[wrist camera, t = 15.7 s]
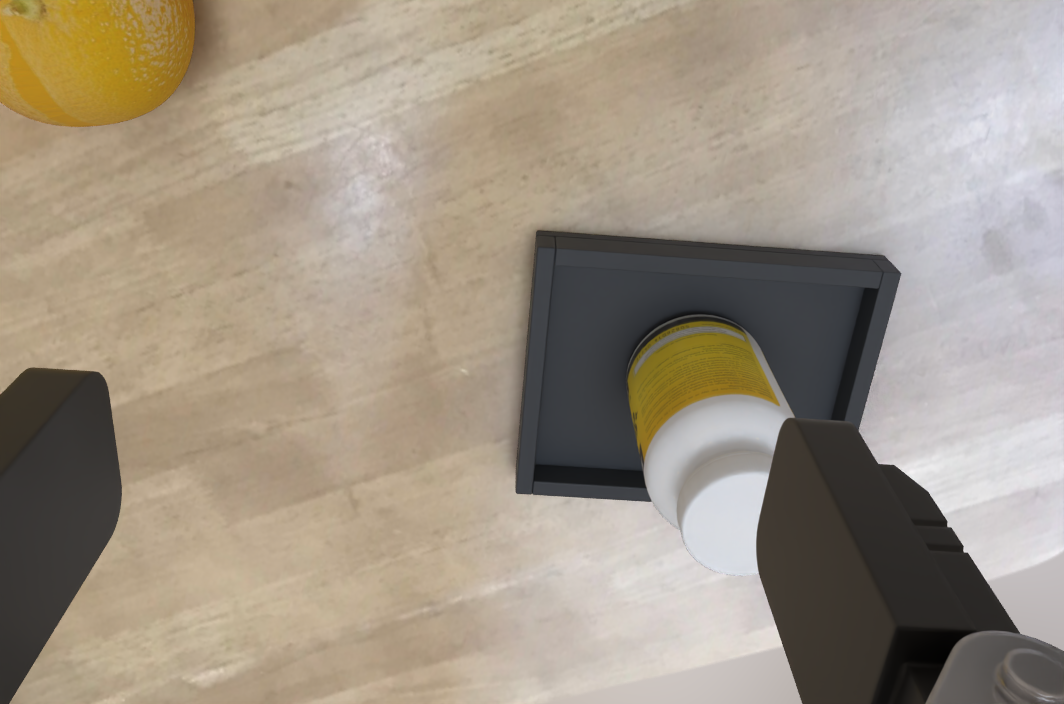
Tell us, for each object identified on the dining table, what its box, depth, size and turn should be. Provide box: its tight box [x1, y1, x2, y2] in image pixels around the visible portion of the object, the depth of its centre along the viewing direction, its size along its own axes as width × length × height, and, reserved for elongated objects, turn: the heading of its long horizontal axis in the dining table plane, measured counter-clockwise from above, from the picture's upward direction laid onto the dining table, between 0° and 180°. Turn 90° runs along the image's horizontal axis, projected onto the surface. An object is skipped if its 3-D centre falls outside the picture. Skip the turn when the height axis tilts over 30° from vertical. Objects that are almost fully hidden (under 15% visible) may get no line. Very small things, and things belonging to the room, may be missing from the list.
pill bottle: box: [626, 314, 795, 576], centre depth 39 cm, size 6×6×12 cm
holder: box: [516, 231, 901, 502], centre depth 44 cm, size 16×13×2 cm
